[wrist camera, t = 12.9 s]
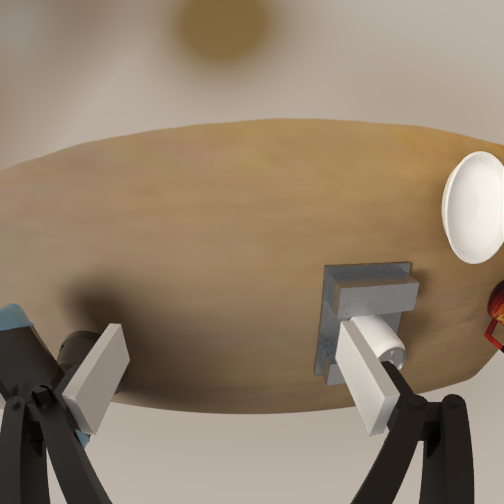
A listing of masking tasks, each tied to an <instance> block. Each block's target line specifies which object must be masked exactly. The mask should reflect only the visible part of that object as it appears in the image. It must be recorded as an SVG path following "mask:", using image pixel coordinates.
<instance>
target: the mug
mask: <svg viewBox="0 0 504 504" xmlns="http://www.w3.org/2000/svg"><path fill="white" fill-rule="evenodd" d="M488 313H489V315H490V316H491V317H493V319H492V321H491V323H490V325H489V327H488V329H487V331H486V333H485V335H484V336H485V337H486V338H487V339H488V340H489V341H490V342H491V343H493V344H494V345H495V346H496V347H498V348H499V349H500V350H501V351H502V352H503V353H504V345H503V346H502V345H501V344H500V343H499V342H498V341H497V340H496V339H494V338H493V337H492V336H491V334H492V332H493V331H494V329H495V327H496V324H497V322H499V323H500V324H502V325H503V326H504V280H503V281H501V282H500V283H499V284H498V285H497V286H496V287H495V288H494V290H493V292H492V294H491V296H490V298H489V302H488Z"/></svg>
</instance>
